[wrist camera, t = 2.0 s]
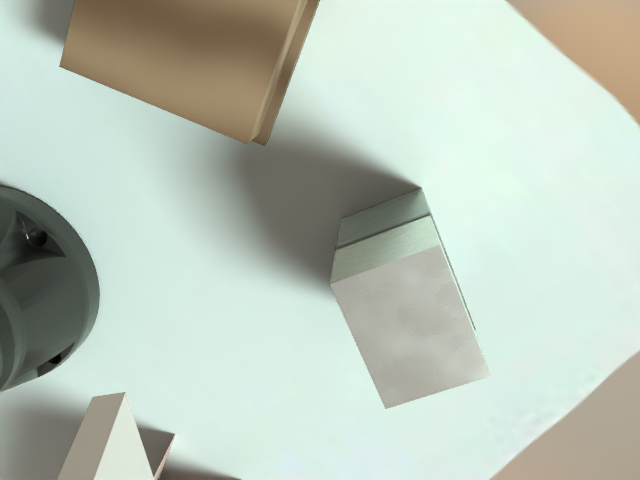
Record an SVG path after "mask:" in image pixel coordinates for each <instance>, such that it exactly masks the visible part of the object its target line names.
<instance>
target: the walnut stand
mask: <svg viewBox="0 0 640 480" xmlns="http://www.w3.org/2000/svg"><path fill="white" fill-rule="evenodd" d="M319 1H320V0H75V3H74V8H73V12H72V16H71V20H70V24H69V28H68V33H67V37H66V41H65V45H64V49H63V53H62V58H61V62H60V66H59V67H62V68H64V69H66V70H69V71H71V72H74V73H76V74H79V75H81V76H83V77H86V78H88V79H91V80H93V81H96V82H98V83H100V84H103V85H105V86H108V87H110V88H113V89H115V90H117V91H120V92H122V93H125V94H127V95H129V96H132V97H134V98H137V99H139V100H142V101H144V102H146V103H149V104H151V105H154V106H156V107H159V108H161V109H163V110H166V111H168V112H171V113H173V114H176V115H178V116H180V117H183V118H185V119H188V120H190V121H192V122H195V123H197V124H200V125H202V126H205V127H207V128H209V129H212V130H214V131H217V132H219V133H222V134H224V135H226V136H229V137H231V138H234V139H236V140H239V141H241V142H243V143H246V144H248V143H249V142H250V141H254V142H257V143H259V144H261V145H264V146H265V145H266V144H267V142H268V139H269V136H270V133H271V131H272V128H273V125H274V123H275V120H276V117H277V115H278V112H279V109H280V107H281V104H282V101H283V98H284V96H285V93H286V90H287V88H288V85H289V82H290V80H291V77H292V74H293V71H294V69H295V66H296V63H297V61H298V58H299V55H300V53H301V50H302V47H303V45H304V42H305V39H306V36H307V34H308V31H309V28H310V26H311V23H312V20H313V18H314V15H315V12H316V9H317V7H318V4H319Z"/></svg>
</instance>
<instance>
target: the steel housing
mask: <svg viewBox="0 0 640 480" xmlns="http://www.w3.org/2000/svg"><path fill="white" fill-rule="evenodd" d="M330 286H331V289H332V291H333V293H334V295H335V298H336V300H337V302H338V304H339V306H340V309H341V311H342V313H343V315H344V318H345V320H346V322H347V324H348V327H349V329H350V331H351V333H352V335H353V338H354V340H355V342H356V344H357V347H358V349H359V351H360V353H361V355H362V358H363V360H364V362H365V364H366V367H367V369H368V371H369V373H370V375H371V378H372V380H373V382H374V384H375V387H376V389H377V391H378V393H379V395H380V398H381V400H382V402H383V404H384V407H385V409H387V408H390V407H393V406H396V405H400V404H403V403H406V402H409V401H412V400H416V399H419V398H422V397H425V396H428V395H432V394H435V393H438V392H441V391H444V390H447V389H451V388H454V387H457V386H460V385H463V384H467V383H470V382H473V381H476V380H479V379H483V378H486V377H489V376H491V375H490V372H489V370H488V367H487V364H486V361H485V358H484V355H483V352H482V349H481V347H480V344H479V341H478V338H477V335H476V332H475V330H476V329H475V327H474V324H473V322H472V319H471V316H470V314H469V311H468V309H467V306H466V303H465V300H464V297H463V295H462V292H461V289H460V286H459V284H458V281H457V278H456V276H455V273H454V271H453V268H452V265H451V263H450V260H449V258H448V255H447V252H446V250H445V247H444V245H443V242H442V239H441V237H440V234H439V232H438V229H437V226H436V224H435V221H434V219H433V216H432V213H431V211H430V208H429V206H428V203H427V200H426V198H425V195H424V193H423V190H422V188H420V189H417V190H415V191H412V192H410V193H407V194H404V195H402V196H399V197H397V198H394V199H391V200H389V201H386V202H384V203H381V204H378V205H376V206H373V207H371V208H368V209H365V210H363V211H360V212H358V213H355V214H352V215H350V216H347V217H345V218H342V219H341V222H340V228H339V233H338V239H337V245H336V247H335V256H334V262H333V268H332V274H331V279H330Z"/></svg>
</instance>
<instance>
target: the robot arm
mask: <svg viewBox="0 0 640 480" xmlns="http://www.w3.org/2000/svg"><path fill="white" fill-rule="evenodd" d="M99 296H100V293H99V282H98V277H97V272H96V269H95V266H94V263H93V260H92V258H91V256H90V253H89V251H88V250H87V248H86V246H85V244H84V243H83V241H82V239H81V238H80V237H79V235H78V234H77V232H76V231H75V230H74V229H73V228H72V226H71V225H70V224H69V223H68V222H67V221H66V220H65V219H64V218H63V217H62V216H61V215H59V214H58V213H57V212H56V211H55V210H53V209H52V208H51V207H49V206H48V205H46V204H45V203H43V202H41V201H40V200H38V199H36V198H34V197H32V196H30V195H28V194H26V193H23V192H20V191H17V190H14V189H11V188H7V187H2V186H0V392H2V391H4V390H7V389H10V388H12V387H15V386H17V385H20V384H22V383H25V382H27V381H30V380H32V379H35V378H37V377H40V376H42V375H44V374H46V373H48V372H50V371H52V370H54V369H55V368H57V367H58V366H60V365H61V364H62V363H63V362H65V361H66V360H67V359H68V358H69V357H70V356H71V355H72V354H73V353H74V352H75V351H76V349H77V348H78V347H79V346H80V345H81V344H82V343H83V342H84V341H85V339H86V338H87V337H88V335H89V333H90V332H91V330H92V328H93V326H94V323H95V320H96V317H97V313H98V308H99ZM57 480H154V477H153V474H152V471H151V468H150V465H149V462H148V459H147V456H146V453H145V450H144V447H143V444H142V441H141V438H140V435H139V432H138V428H137V425H136V422H135V419H134V416H133V413H132V410H131V407H130V404H129V401H128V398H127V395H126V392H123V393H117V394H110V395H103V396H97V397H93V398H92V400H91V403H90V405H89V407H88V409H87V412H86V414H85V416H84V419H83V421H82V423H81V426H80V428H79V430H78V432H77V435H76V437H75V439H74V442H73V444H72V446H71V448H70V451H69V453H68V455H67V458H66V460H65V462H64V465H63V467H62V469H61V471H60V474H59V476H58V478H57Z"/></svg>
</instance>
